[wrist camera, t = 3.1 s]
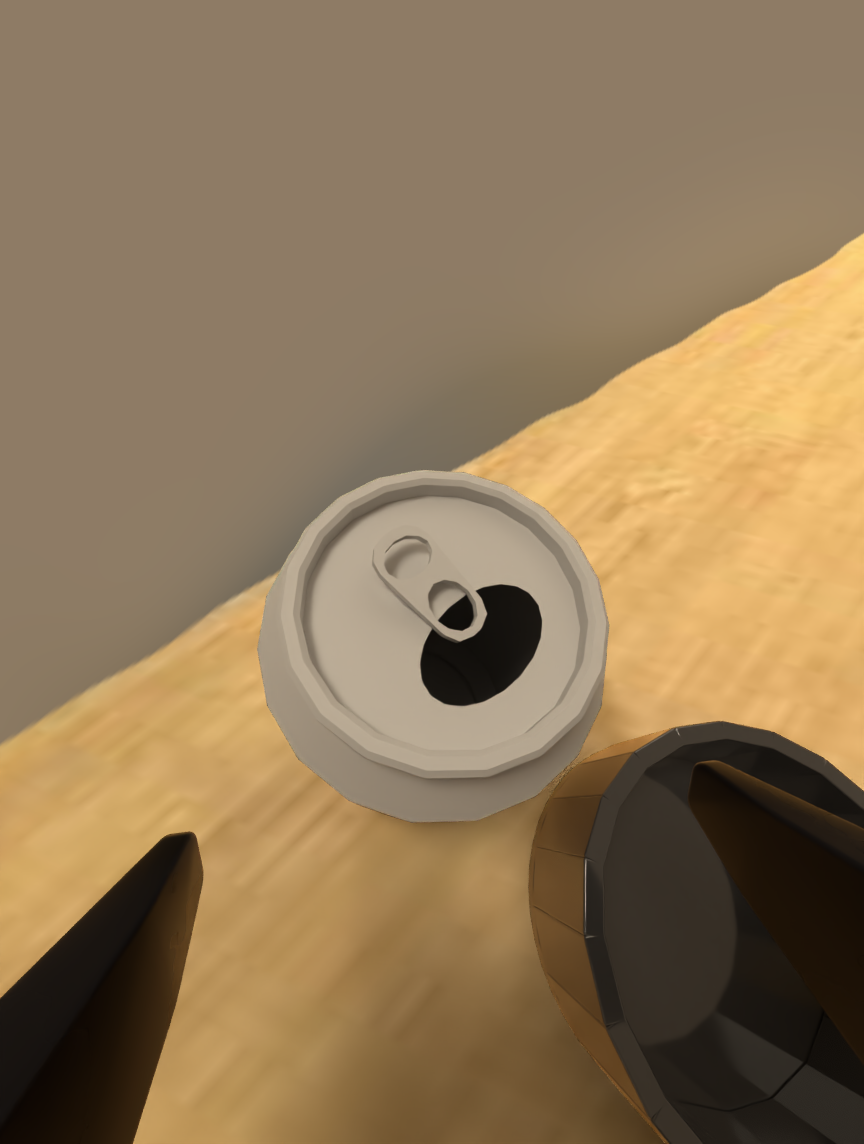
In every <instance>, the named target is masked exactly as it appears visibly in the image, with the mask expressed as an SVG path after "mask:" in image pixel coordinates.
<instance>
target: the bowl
mask: <svg viewBox="0 0 864 1144" xmlns="http://www.w3.org/2000/svg"><path fill="white" fill-rule="evenodd" d="M712 760H716V761H720V762H723V763H725V764H727V765H729V766H731V767H733V768H735V769H738V770H740V771H742V772H744V773H746V774H748V775H750V776H752V777H755V778H757V779H759V780H761V781H763V782H765V783H767V784H769V785H772V786H774V787H776V788H778V789H780V790H782V791H784V792H786V793H789V794H791V795H793V796H795V797H797V798H799V799H801V800H803V801H806V802H808V803H810V804H812V805H814V806H816V807H818V808H820V809H823V810H825V811H827V812H829V813H831V814H833V815H835V816H838V817H840V818H842V819H844V820H846V821H848V822H850V823H852V824H855V825H857V826H859V827H861V828H863V829H864V791H863V790H862V789H861V788H859V787H858V786H857V785H856V784H855V783H854V782H852V781H851V780H850V779H849V778H848V777H846V776H845V775H844V774H843V773H842V772H840V771H839V770H838V769H837V768H836V767H835V766H833V765H832V764H831V763H830V762H829V761H827V760H825V758H823V757H821V756H819V755H817V754H815V753H813V752H812V751H810V750H808V749H806V748H804V747H802V746H800V745H798V744H796V743H794V742H792V741H790V740H788V739H786V738H785V737H783V736H781V735H779V734H777V733H775V732H771V731H768V730H763V729H759V728H754V727H749V726H744V725H739V724H734V723H730V722H725V721H714V722H707V723H700V724H693V725H686V726H679V727H674V728H670V729H666V730H663V731H659V732H656V733H652V734H649V735H645V736H642V737H638V738H635V739H631V740H627V741H624V742H620V743H617V744H614V745H611V746H609V747H607V748H606V749H603V750H601V751H599V752H597V753H594V754H592V755H591V756H589V757H588V758H586V759H584V760H583V761H581V762H580V763H579V764H577V765H576V766H575V767H574V768H573V769H572V770H571V771H570V772H569V773H568V774H566V776H565V777H564V778H563V779H562V781H561V782H560V783H559V784H558V786H557V787H556V788H555V790H554V792H553V793H552V795H551V797H550V798H549V800H548V802H547V803H546V806H545V808H544V810H543V813H542V815H541V817H540V820H539V822H538V826H537V829H536V833H535V837H534V840H533V845H532V852H531V858H530V865H529V904H530V916H531V922H532V928H533V934H534V940H535V943H536V947H537V951H538V955H539V958H540V962H541V966H542V968H543V971H544V974H545V976H546V979H547V982H548V984H549V987H550V990H551V992H552V994H553V996H554V998H555V1000H556V1002H557V1004H558V1006H559V1008H560V1010H561V1012H562V1014H563V1016H564V1018H565V1020H566V1021H567V1023H568V1024H569V1026H570V1028H571V1029H572V1031H573V1032H574V1035H575V1036H576V1037H577V1039H578V1041H579V1042H580V1043H581V1045H582V1046H583V1047H584V1048H585V1049H586V1051H587V1052H588V1053H589V1055H590V1056H591V1057H592V1058H593V1060H594V1061H595V1062H596V1063H597V1065H598V1066H599V1067H600V1068H601V1069H602V1070H603V1072H604V1073H605V1074H606V1075H607V1077H608V1078H609V1079H610V1080H611V1081H612V1083H613V1084H614V1085H615V1086H616V1088H617V1089H618V1090H619V1091H620V1092H621V1094H622V1095H623V1096H624V1097H625V1098H626V1099H627V1100H628V1102H629V1103H630V1104H631V1105H632V1106H633V1107H634V1108H635V1110H636V1111H637V1112H638V1113H639V1114H640V1115H641V1117H642V1118H643V1119H644V1120H645V1121H646V1122H647V1123H648V1125H649V1126H650V1127H651V1128H652V1129H653V1130H654V1131H655V1133H656V1134H657V1135H658V1136H659V1137H660V1138H661V1139H662V1141H663V1142H664V1143H665V1144H864V1066H863V1064H862V1063H861V1061H860V1060H859V1059H858V1057H857V1056H856V1054H855V1053H854V1052H853V1050H852V1049H851V1047H850V1046H849V1045H848V1043H847V1042H846V1040H845V1039H844V1038H843V1036H842V1035H841V1033H840V1032H839V1031H838V1029H837V1028H836V1026H835V1025H834V1023H833V1022H832V1021H831V1019H830V1018H829V1016H828V1015H827V1014H826V1012H825V1011H824V1009H823V1008H822V1007H821V1005H820V1004H819V1002H818V1001H817V1000H816V998H815V997H814V995H813V994H812V993H811V991H810V990H809V988H808V987H807V986H806V984H805V983H804V981H803V980H802V979H801V977H800V976H799V974H798V973H797V972H796V970H795V969H794V967H793V966H792V965H791V963H790V962H789V960H788V959H787V957H786V956H785V955H784V953H783V952H782V950H781V949H780V948H779V946H778V945H777V943H776V942H775V941H774V939H773V938H772V936H771V935H770V934H769V932H768V931H767V929H766V928H765V927H764V925H763V924H762V922H761V921H760V920H759V918H758V917H757V915H756V914H755V913H754V911H753V910H752V908H751V907H750V905H749V904H748V902H747V901H746V900H745V898H744V897H743V895H742V894H741V892H740V890H739V889H738V887H737V886H736V884H735V882H734V881H733V879H732V878H731V876H730V874H729V873H728V871H727V869H726V868H725V866H724V864H723V863H722V861H721V859H720V858H719V856H718V854H717V853H716V851H715V849H714V848H713V846H712V844H711V843H710V841H709V839H708V838H707V836H706V835H705V833H704V831H703V830H702V828H701V826H700V825H699V823H698V821H697V820H696V818H695V816H694V815H693V813H692V811H691V809H690V807H689V804H688V791H689V786H690V781H691V776H692V771H693V768H694V766H695V765H696V763H699V762H705V761H712Z"/></svg>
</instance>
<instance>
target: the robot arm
mask: <svg viewBox="0 0 864 1144" xmlns="http://www.w3.org/2000/svg"><path fill="white" fill-rule="evenodd" d="M688 804H689V807H690V809H691V811H692V813H693V815H694V816H695V818H696V820H697V821H698V823H699V825H700V826H701V828H702V830H703V831H704V833H705V835H706V836H707V838H708V839H709V841H710V843H711V844H712V846H713V848H714V849H715V851H716V853H717V854H718V856H719V858H720V859H721V861H722V863H723V864H724V866H725V868H726V869H727V871H728V873H729V874H730V876H731V878H732V879H733V881H734V882H735V884H736V886H737V887H738V889H739V890H740V892H741V894H742V895H743V897H744V898H745V900H746V901H747V902H748V904H749V905H750V907H751V908H752V910H753V911H754V913H755V914H756V915H757V917H758V918H759V920H760V921H761V922H762V924H763V925H764V927H765V928H766V929H767V931H768V932H769V934H770V935H771V936H772V938H773V939H774V941H775V942H776V943H777V945H778V946H779V948H780V949H781V950H782V952H783V953H784V955H785V956H786V957H787V959H788V960H789V962H790V963H791V965H792V966H793V967H794V969H795V970H796V972H797V973H798V974H799V976H800V977H801V979H802V980H803V981H804V983H805V984H806V986H807V987H808V988H809V990H810V991H811V993H812V994H813V995H814V997H815V998H816V1000H817V1001H818V1002H819V1004H820V1005H821V1007H822V1008H823V1009H824V1011H825V1012H826V1014H827V1015H828V1016H829V1018H830V1019H831V1021H832V1022H833V1023H834V1025H835V1026H836V1028H837V1029H838V1031H839V1032H840V1033H841V1035H842V1036H843V1038H844V1039H845V1040H846V1042H847V1043H848V1045H849V1046H850V1047H851V1049H852V1050H853V1052H854V1053H855V1054H856V1056H857V1057H858V1059H859V1060H860V1061H861V1063H862V1064H863V1066H864V829H863V828H861V827H859V826H857V825H855V824H852V823H850V822H848V821H846V820H844V819H842V818H840V817H838V816H835V815H833V814H831V813H829V812H827V811H825V810H823V809H820V808H818V807H816V806H814V805H812V804H810V803H808V802H806V801H803V800H801V799H799V798H797V797H795V796H793V795H791V794H789V793H786V792H784V791H782V790H780V789H778V788H776V787H774V786H772V785H769V784H767V783H765V782H763V781H761V780H759V779H757V778H755V777H752V776H750V775H748V774H746V773H744V772H742V771H740V770H738V769H735V768H733V767H731V766H729V765H727V764H725V763H723V762H720V761H716V760H712V761H705V762H699V763H696V765H695V766H694V768H693V771H692V776H691V781H690V786H689V791H688ZM202 884H203V866H202V861H201V857H200V852H199V847H198V843H197V838H196V835H195V834H194V833H193V832H183V833H175V834H169V835H166V836H165V837H163V838H162V839H161V840H160V841H159V842H158V843H157V844H156V845H155V846H154V847H153V848H152V849H151V850H150V851H149V852H148V853H147V854H146V855H145V856H144V857H143V858H142V859H141V860H140V861H139V862H138V863H137V864H136V865H135V866H134V867H133V868H131V869H130V870H129V871H128V872H127V873H126V874H125V875H124V876H123V877H122V878H121V879H120V880H119V881H118V882H117V883H116V884H115V885H114V886H113V887H112V888H111V889H110V890H109V891H108V892H107V893H106V894H105V895H104V896H103V897H102V898H101V899H100V900H99V901H98V902H97V903H96V904H95V905H94V906H93V907H92V908H91V909H90V910H89V911H88V912H87V913H86V914H85V915H84V916H83V917H82V918H81V919H80V920H79V921H78V922H77V923H76V924H75V925H74V926H73V927H72V928H71V929H70V930H69V931H68V932H67V933H66V934H65V935H64V936H63V937H62V938H61V939H60V940H59V941H58V942H57V943H56V944H55V945H54V946H53V947H52V948H51V949H50V950H49V951H48V952H47V953H46V954H45V955H44V956H43V957H42V958H41V959H40V960H39V961H38V962H37V963H36V964H35V965H34V966H33V967H32V968H31V969H30V970H29V971H27V972H26V973H25V974H24V975H23V976H22V977H21V978H20V979H19V980H18V981H17V982H16V983H15V984H14V985H13V986H12V987H11V988H10V989H9V990H8V991H7V992H6V993H5V994H4V995H3V996H2V997H1V998H0V1144H133V1141H134V1138H135V1135H136V1132H137V1128H138V1125H139V1122H140V1119H141V1116H142V1112H143V1109H144V1106H145V1103H146V1100H147V1096H148V1093H149V1090H150V1087H151V1084H152V1080H153V1077H154V1074H155V1071H156V1068H157V1064H158V1061H159V1058H160V1055H161V1052H162V1048H163V1045H164V1042H165V1039H166V1036H167V1033H168V1029H169V1026H170V1023H171V1019H172V1016H173V1012H174V1009H175V1005H176V1002H177V998H178V993H179V989H180V985H181V981H182V976H183V971H184V967H185V962H186V958H187V953H188V949H189V944H190V939H191V935H192V930H193V926H194V921H195V917H196V912H197V907H198V903H199V898H200V894H201V889H202Z"/></svg>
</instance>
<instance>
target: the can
mask: <svg viewBox="0 0 864 1144" xmlns="http://www.w3.org/2000/svg"><path fill="white" fill-rule="evenodd" d="M608 633H609V622H608V617H607V613H606V608H605V604H604V600H603V595H602V591H601V586H600V582H599V579H598V577H597V575H596V574H595V572H594V570H593V568H592V567H591V565H590V563H589V561H588V560H587V558H586V556H585V554H584V552H583V551H582V549H581V547H580V545H579V544H578V542H577V540H576V539H575V538H574V537H573V536H572V535H571V534H570V533H569V532H568V531H567V530H566V529H565V528H564V527H563V526H562V525H561V524H560V523H559V522H558V521H557V520H556V519H555V518H554V517H553V516H552V515H551V514H550V513H549V512H548V511H547V510H546V509H545V508H543V507H542V506H540V505H538V504H537V503H535V502H533V501H532V500H530V499H528V498H527V497H525V496H523V495H522V494H520V493H518V492H517V491H515V490H513V489H512V488H510V487H508V486H507V485H503V484H500V483H497V482H494V481H490V480H487V479H484V478H481V477H477V476H474V475H471V474H468V473H464V472H447V471H431V470H418V471H413V472H407V473H403V474H398V475H392V476H387V477H381V478H377V479H375V480H373V481H371V482H369V483H367V484H365V485H363V486H361V487H359V488H357V489H355V490H353V491H351V492H349V493H347V494H345V495H343V496H341V497H339V498H337V499H336V500H335V501H334V502H333V503H332V504H331V505H330V506H329V507H328V508H327V509H326V510H325V511H324V512H322V513H321V514H320V515H319V516H318V517H317V518H316V519H315V520H314V521H313V522H312V523H311V524H310V525H308V526H307V527H306V528H305V530H304V532H303V534H302V536H301V537H300V539H299V541H298V543H297V545H296V547H295V548H294V549H293V550H292V551H291V553H290V554H289V556H288V558H287V560H286V561H285V563H284V565H283V567H282V569H281V571H280V572H279V574H278V576H277V578H276V580H275V581H274V583H273V585H272V587H271V589H270V591H269V592H268V594H267V596H266V601H265V607H264V613H263V619H262V625H261V630H260V636H259V642H258V648H257V650H258V656H259V661H260V667H261V673H262V678H263V684H264V690H265V695H266V701H267V706H268V708H269V709H270V711H271V713H272V715H273V716H274V718H275V720H276V721H277V723H278V725H279V727H280V728H281V730H282V732H283V733H284V735H285V737H286V739H287V740H288V742H289V744H290V746H291V747H292V749H293V751H294V752H295V754H296V756H297V758H298V759H299V760H300V761H301V762H302V763H304V764H305V765H306V766H307V767H309V768H310V769H311V770H312V771H313V772H315V773H316V774H317V775H318V776H319V777H321V778H322V779H323V780H324V781H326V782H327V783H328V784H329V785H330V786H332V787H333V788H334V789H335V790H336V791H338V792H339V793H340V794H341V795H343V796H344V797H345V798H346V799H347V800H349V801H351V802H353V803H356V804H358V805H361V806H363V807H366V808H369V809H372V810H375V811H378V812H380V813H383V814H386V815H389V816H392V817H395V818H398V819H402V820H405V821H408V822H448V821H478V820H480V819H483V818H485V817H487V816H490V815H492V814H495V813H497V812H499V811H502V810H504V809H507V808H509V807H511V806H514V805H516V804H519V803H521V802H523V801H526V800H528V799H531V798H533V797H535V796H536V795H537V794H538V793H539V792H541V791H542V790H543V789H544V788H545V787H546V786H547V785H548V784H549V783H550V782H551V781H552V780H553V779H554V778H555V777H556V776H557V775H558V774H559V773H560V772H561V771H562V770H563V769H564V768H566V767H567V766H568V765H569V764H570V763H571V762H572V761H573V760H574V759H575V758H576V757H577V756H578V754H579V752H580V750H581V748H582V746H583V744H584V742H585V739H586V737H587V735H588V733H589V731H590V729H591V727H592V725H593V723H594V721H595V718H596V716H597V714H598V712H599V710H600V708H601V705H602V695H603V686H604V676H605V666H606V656H607V643H608Z"/></svg>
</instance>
